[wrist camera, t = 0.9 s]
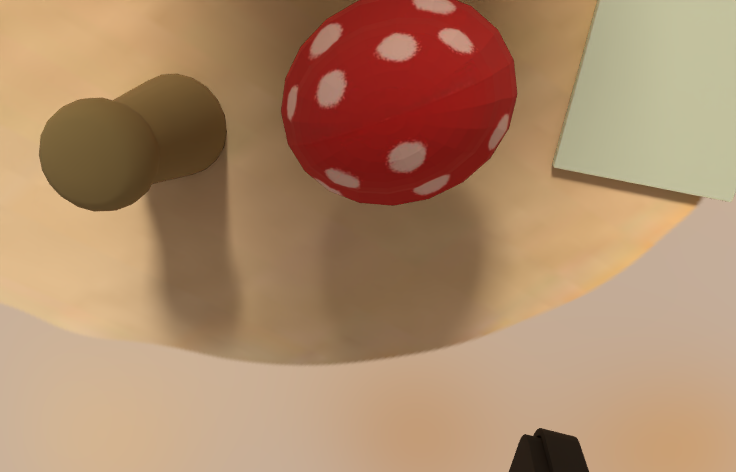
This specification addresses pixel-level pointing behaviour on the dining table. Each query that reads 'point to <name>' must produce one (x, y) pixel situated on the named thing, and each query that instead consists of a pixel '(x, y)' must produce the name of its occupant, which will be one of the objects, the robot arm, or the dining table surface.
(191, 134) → the cork
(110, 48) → the dining table surface
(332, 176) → the decorative mushroom
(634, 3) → the mat
